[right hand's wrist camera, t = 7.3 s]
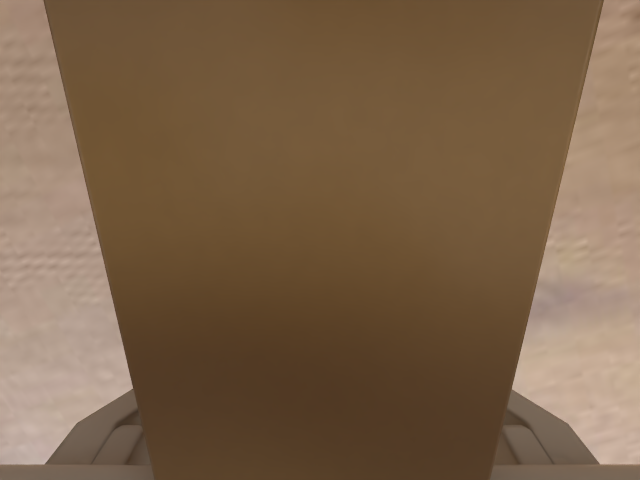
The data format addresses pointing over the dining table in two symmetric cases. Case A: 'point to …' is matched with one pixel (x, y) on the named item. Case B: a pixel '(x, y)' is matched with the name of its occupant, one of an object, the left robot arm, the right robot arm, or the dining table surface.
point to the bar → (322, 219)
